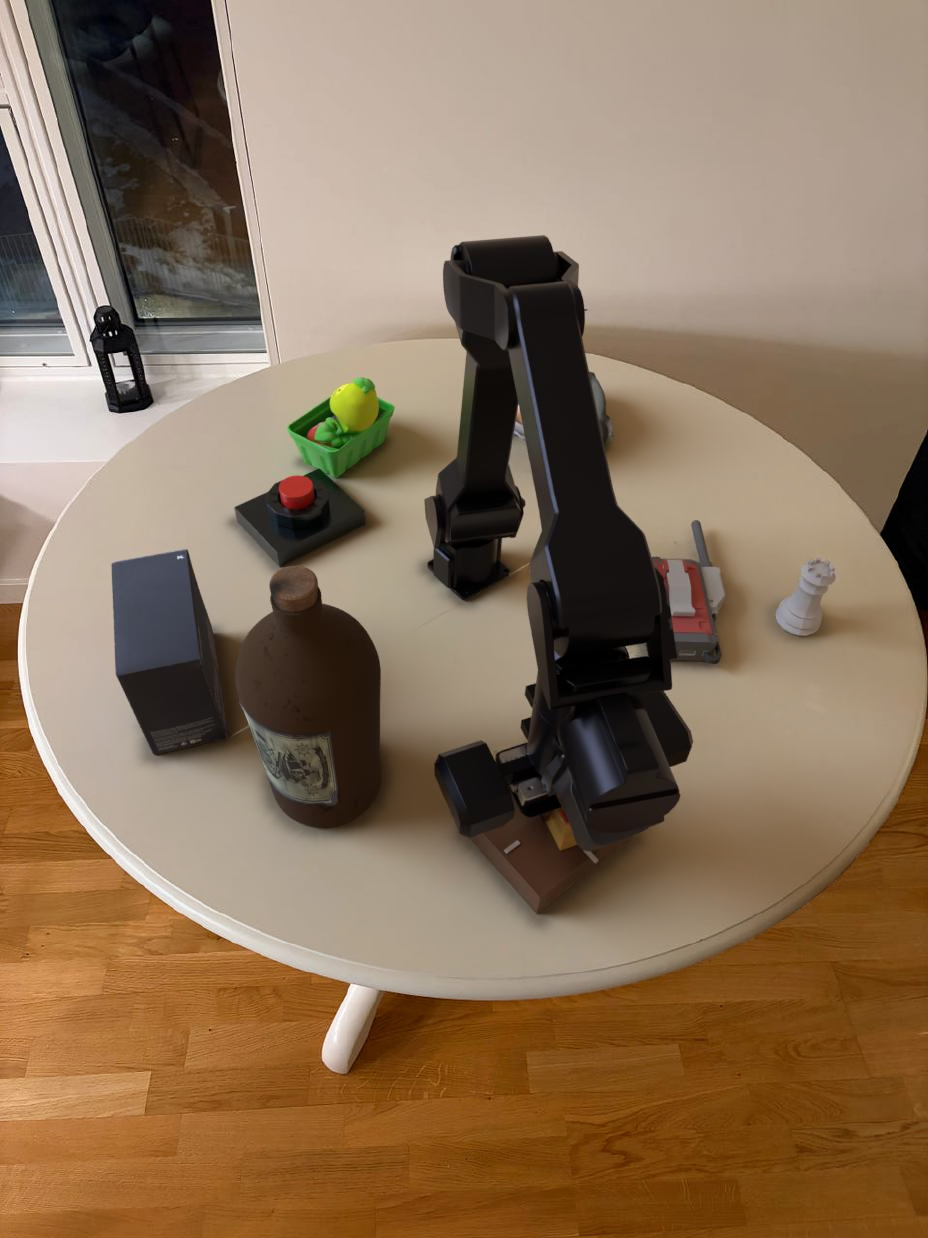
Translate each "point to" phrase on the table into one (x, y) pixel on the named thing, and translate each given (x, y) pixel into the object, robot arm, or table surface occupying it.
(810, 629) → the rook chess piece
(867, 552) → the table surface
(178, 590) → the small box
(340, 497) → the button block
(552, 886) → the panel
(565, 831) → the rod knob
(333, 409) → the fruit basket
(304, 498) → the button
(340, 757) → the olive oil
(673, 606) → the walkie-talkie
